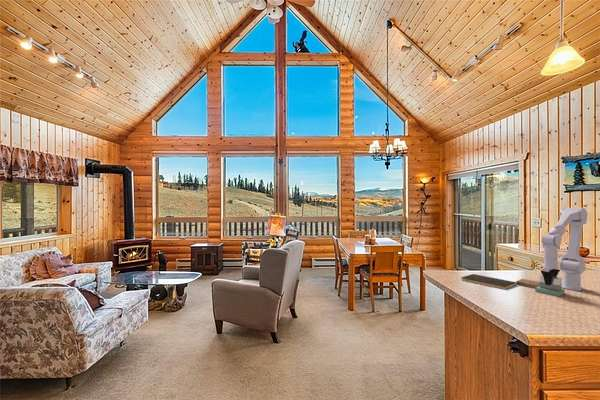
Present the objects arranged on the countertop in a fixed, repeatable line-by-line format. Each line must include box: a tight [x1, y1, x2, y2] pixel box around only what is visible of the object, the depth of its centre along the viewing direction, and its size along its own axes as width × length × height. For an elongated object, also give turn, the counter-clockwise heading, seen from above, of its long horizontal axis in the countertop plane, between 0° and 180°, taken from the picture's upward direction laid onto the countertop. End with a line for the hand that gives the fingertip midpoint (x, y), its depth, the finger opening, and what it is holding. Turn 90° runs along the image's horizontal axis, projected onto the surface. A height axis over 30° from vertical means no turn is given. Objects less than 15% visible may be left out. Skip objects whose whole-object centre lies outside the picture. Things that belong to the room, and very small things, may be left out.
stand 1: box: [515, 278, 540, 289], centre depth 179 cm, size 10×10×2 cm
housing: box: [539, 274, 563, 291], centre depth 165 cm, size 8×4×6 cm, turn 39°
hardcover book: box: [460, 273, 517, 290], centre depth 183 cm, size 16×23×2 cm
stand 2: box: [534, 286, 566, 297], centre depth 165 cm, size 10×10×2 cm
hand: (550, 283), depth 165 cm, fingers open, 7 cm apart
